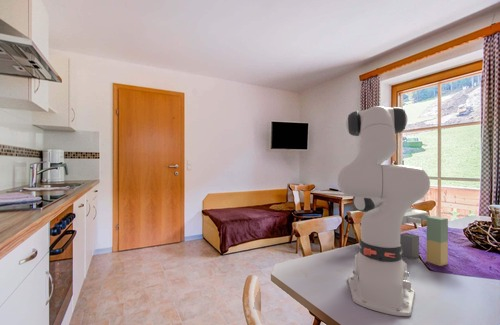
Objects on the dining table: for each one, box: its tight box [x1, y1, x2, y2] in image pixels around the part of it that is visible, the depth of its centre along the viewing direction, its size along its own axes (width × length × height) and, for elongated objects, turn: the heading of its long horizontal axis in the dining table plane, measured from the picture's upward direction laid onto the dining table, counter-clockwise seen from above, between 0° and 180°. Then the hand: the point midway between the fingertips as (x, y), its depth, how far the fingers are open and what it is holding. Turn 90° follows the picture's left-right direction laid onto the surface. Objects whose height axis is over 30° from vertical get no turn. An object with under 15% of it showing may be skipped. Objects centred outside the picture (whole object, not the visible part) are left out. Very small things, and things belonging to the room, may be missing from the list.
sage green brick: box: [426, 215, 449, 243], centre depth 97 cm, size 5×5×9 cm
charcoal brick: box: [400, 232, 420, 260], centre depth 103 cm, size 5×5×9 cm
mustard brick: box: [426, 238, 449, 267], centre depth 96 cm, size 5×5×9 cm
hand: (428, 220), depth 100 cm, fingers open, 8 cm apart
